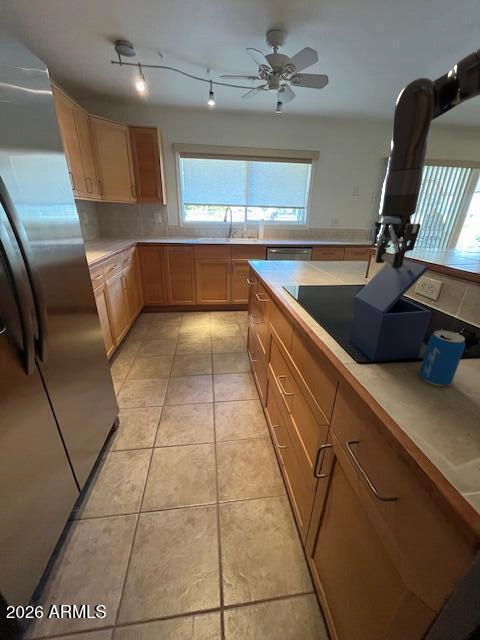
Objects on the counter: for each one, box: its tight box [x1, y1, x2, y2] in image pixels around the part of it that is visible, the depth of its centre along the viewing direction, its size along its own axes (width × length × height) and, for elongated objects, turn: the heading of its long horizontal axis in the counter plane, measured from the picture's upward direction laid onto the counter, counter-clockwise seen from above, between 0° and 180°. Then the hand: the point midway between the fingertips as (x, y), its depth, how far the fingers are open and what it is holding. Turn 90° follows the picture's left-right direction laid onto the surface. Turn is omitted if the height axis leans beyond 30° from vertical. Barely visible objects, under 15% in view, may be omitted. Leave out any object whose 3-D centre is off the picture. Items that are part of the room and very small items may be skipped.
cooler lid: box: [355, 252, 430, 314], centre depth 69 cm, size 14×13×6 cm
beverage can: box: [419, 329, 466, 387], centre depth 61 cm, size 6×6×12 cm
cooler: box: [349, 297, 433, 363], centre depth 75 cm, size 14×13×14 cm
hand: (387, 264), depth 67 cm, fingers closed on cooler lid, 6 cm apart
